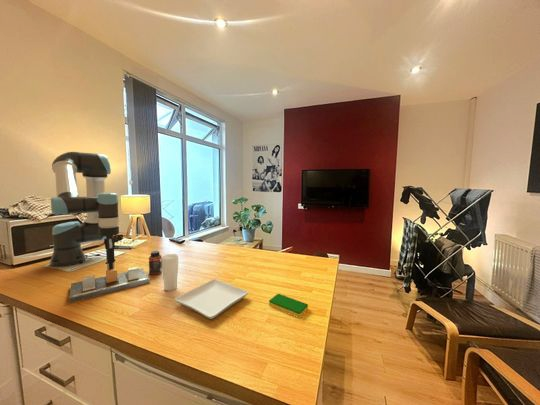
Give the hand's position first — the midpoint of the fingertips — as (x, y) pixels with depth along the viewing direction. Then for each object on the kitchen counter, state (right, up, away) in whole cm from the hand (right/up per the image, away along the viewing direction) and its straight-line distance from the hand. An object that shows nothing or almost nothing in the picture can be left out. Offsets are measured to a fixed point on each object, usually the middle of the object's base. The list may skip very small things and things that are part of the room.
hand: (111, 275), depth 100 cm
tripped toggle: (+2, -2, -2) cm, 3 cm away
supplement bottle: (+14, -3, +13) cm, 19 cm away
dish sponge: (+82, -7, -17) cm, 84 cm away
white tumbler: (+30, -5, -4) cm, 30 cm away
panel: (+1, -4, -2) cm, 4 cm away
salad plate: (+52, -6, -14) cm, 54 cm away
